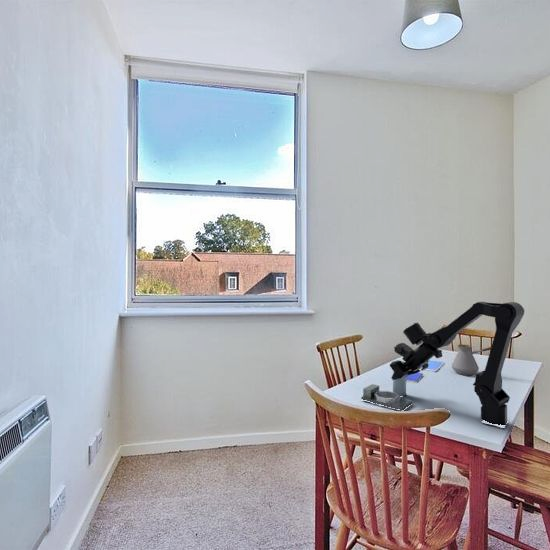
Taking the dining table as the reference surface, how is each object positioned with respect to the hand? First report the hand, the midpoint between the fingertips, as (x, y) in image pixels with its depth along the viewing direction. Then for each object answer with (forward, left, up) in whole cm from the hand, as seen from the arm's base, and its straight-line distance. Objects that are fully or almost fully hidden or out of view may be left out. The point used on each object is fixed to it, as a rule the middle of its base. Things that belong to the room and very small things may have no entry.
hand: (396, 377), depth 144 cm
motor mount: (-1, +11, -7) cm, 13 cm away
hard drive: (+5, -25, -7) cm, 26 cm away
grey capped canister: (-1, 0, -7) cm, 7 cm away
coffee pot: (-16, -49, -7) cm, 52 cm away
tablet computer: (+6, -50, -7) cm, 51 cm away
